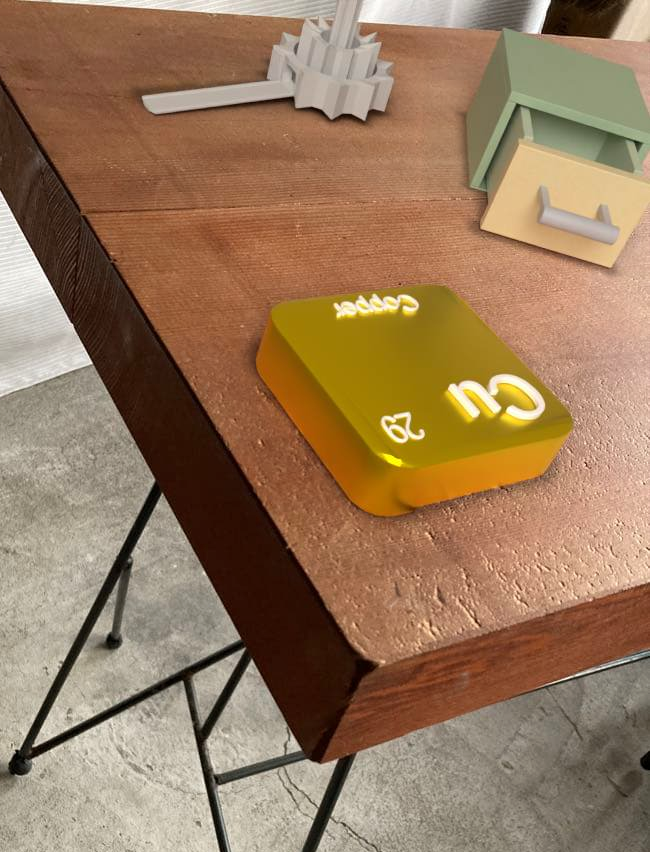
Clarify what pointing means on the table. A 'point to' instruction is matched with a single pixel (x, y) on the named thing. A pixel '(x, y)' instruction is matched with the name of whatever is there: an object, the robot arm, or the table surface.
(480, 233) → the table surface
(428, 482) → the element tile
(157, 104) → the mechanical component
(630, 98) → the cabinet
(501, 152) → the drawer
